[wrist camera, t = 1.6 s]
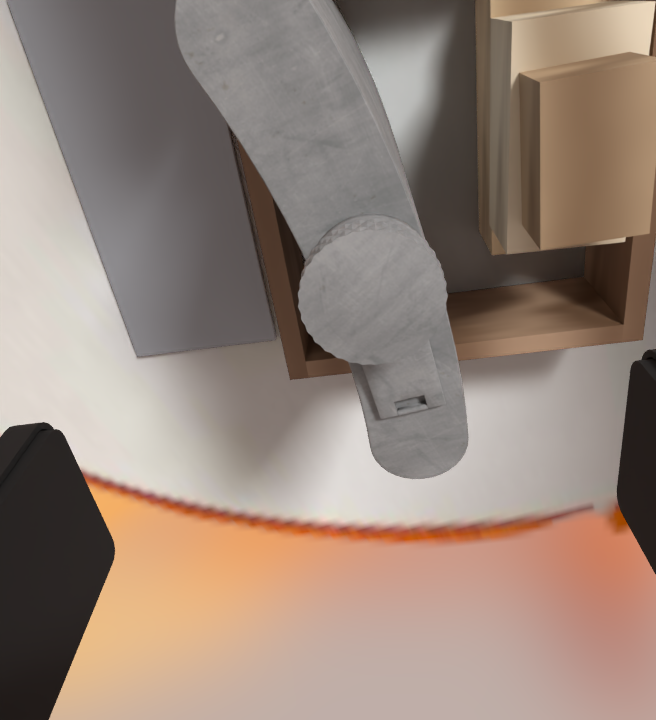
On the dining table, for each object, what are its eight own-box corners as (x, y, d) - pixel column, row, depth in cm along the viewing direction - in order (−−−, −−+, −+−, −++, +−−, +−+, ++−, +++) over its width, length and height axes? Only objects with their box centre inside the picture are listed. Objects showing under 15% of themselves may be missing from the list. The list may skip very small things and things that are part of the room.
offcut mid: (614, 0, 25) (655, 1, 22) (593, 213, 30) (625, 241, 26) (490, 18, 25) (512, 21, 22) (489, 224, 30) (506, 254, 27)
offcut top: (629, 51, 22) (665, 59, 20) (619, 209, 25) (649, 233, 23) (519, 72, 23) (540, 82, 20) (521, 224, 26) (540, 250, 23)
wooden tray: (638, -175, 25) (713, -219, 20) (600, 290, 35) (642, 339, 30) (214, -89, 27) (181, -110, 22) (298, 326, 37) (290, 379, 32)
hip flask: (255, -9, 28) (107, -17, 11) (335, -50, 27) (309, -124, 10) (373, 282, 36) (393, 547, 19) (439, 258, 35) (524, 513, 18)
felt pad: (190, -43, 28) (188, -44, 27) (276, 336, 38) (275, 340, 37) (8, -8, 29) (3, -8, 28) (139, 353, 39) (137, 356, 38)
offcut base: (584, -37, 28) (617, -42, 24) (568, 217, 34) (593, 243, 30) (473, -19, 28) (490, -21, 25) (477, 229, 34) (491, 255, 31)
